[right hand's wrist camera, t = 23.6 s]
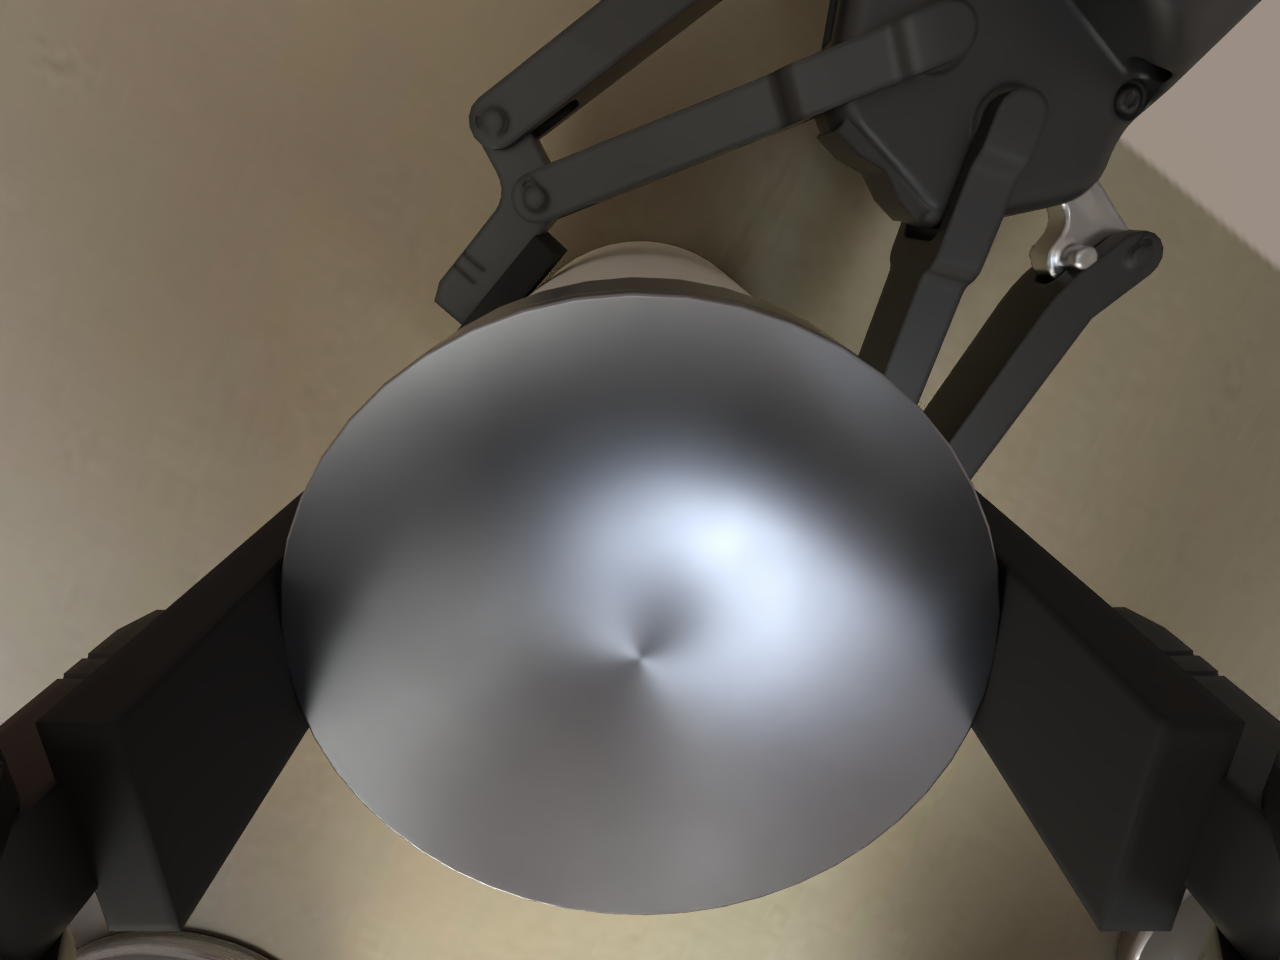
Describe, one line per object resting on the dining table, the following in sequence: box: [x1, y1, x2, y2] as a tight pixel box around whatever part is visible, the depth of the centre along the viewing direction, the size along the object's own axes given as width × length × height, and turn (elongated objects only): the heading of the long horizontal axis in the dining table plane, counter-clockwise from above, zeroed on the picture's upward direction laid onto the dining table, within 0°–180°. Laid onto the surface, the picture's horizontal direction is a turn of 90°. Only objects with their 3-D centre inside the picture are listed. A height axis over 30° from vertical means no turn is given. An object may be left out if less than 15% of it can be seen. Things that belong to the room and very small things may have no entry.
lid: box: [280, 277, 1000, 915], centre depth 11 cm, size 10×10×2 cm
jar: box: [529, 241, 751, 296], centre depth 19 cm, size 9×9×17 cm
